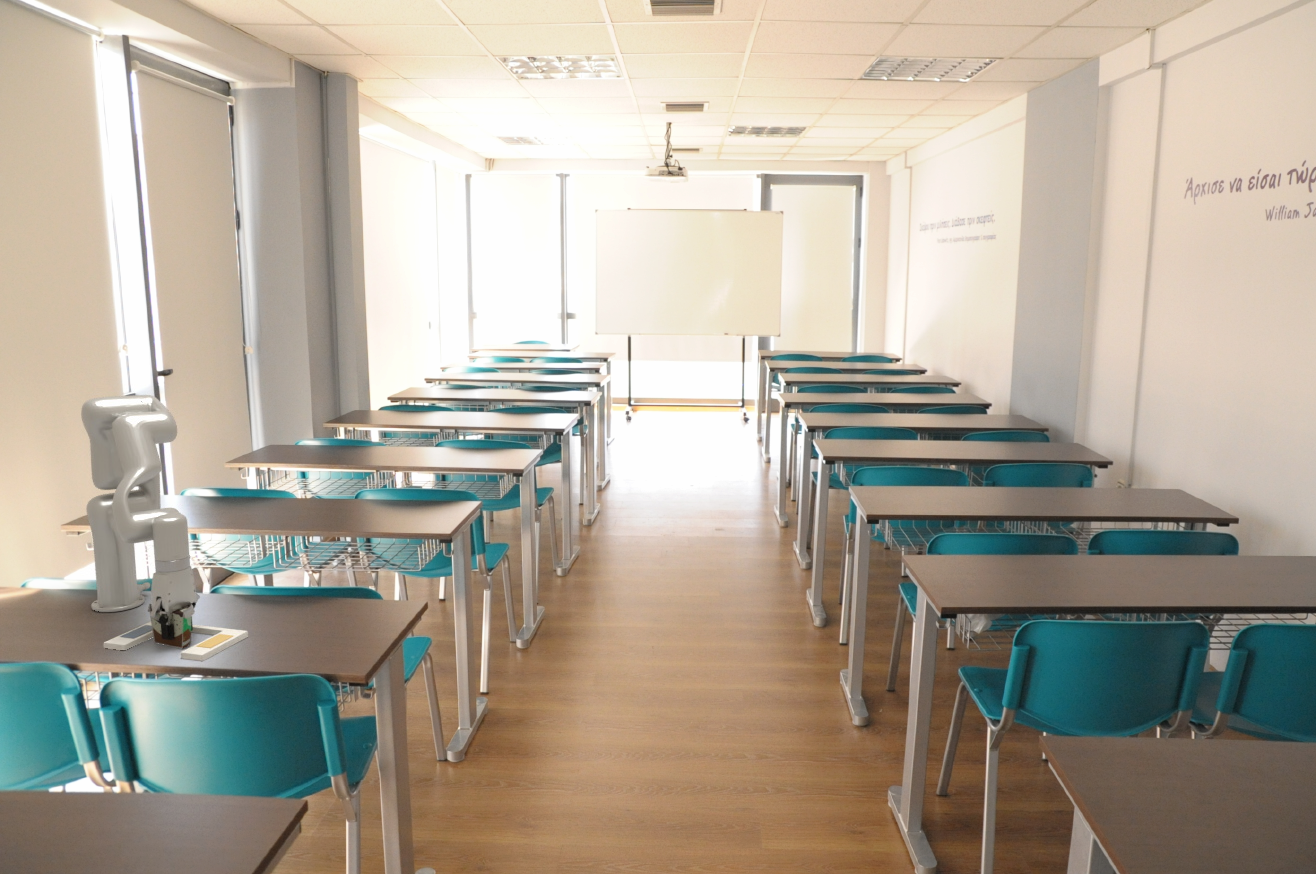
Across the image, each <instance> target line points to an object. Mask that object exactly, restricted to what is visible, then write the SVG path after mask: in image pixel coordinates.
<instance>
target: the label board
mask: <svg viewBox="0 0 1316 874" xmlns="http://www.w3.org/2000/svg"><path fill="white" fill-rule="evenodd" d="M192 626H193V630H192V631H191V634H193V633H195V634H201V635H210V637H208V638H205V639H204V640H202V641H201V642H199V643H196V644H193V645H192V646H190V647H189V648H188V647H187V649H186V648H185V649H183V650H182V651H180V659H183V660H190V661H191V660H192V661H197V662H198V661H199V662H203V661H206V660H208V659H209V658H212V657H214V655H217V654H218V653H221V652H222V651H224V650H226V649H228V648H230V647H232V646H233V645H236V644H237V643H239V642H240V641H241V642H242V641H243V640H244V639H247V638H249V630H243V629H232V628H224V627H218V626H217V627H216V626H208V625H207V626H206V625H201V624H200V625H199V624H193V623H192ZM152 637H153V631H152V624H151V621H149V622H146V623H144V624H142V625H139V626H137V627H136V628H133V629H131V630H129V631H127V632H124V633H122V634H120V635H117V636H115V637H113V638H111V639H109V640H107V641H104V642H103V649H105V648H108V650H113V649H116V651H120V650H126V651H128V650H129V648H130V649H132V648H134V647H136V646H138V645H137V644H139V643H141V642H143V641H145V642H146V641H149V640H151V639H153V638H152ZM150 638H151V639H150ZM148 639H149V640H148ZM143 643H144V642H143ZM141 644H142V643H141ZM135 645H136V646H135ZM139 645H140V644H139ZM133 646H134V647H133ZM131 647H132V648H131ZM127 649H128V650H127Z"/></svg>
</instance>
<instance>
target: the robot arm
mask: <svg viewBox="0 0 1316 874" xmlns="http://www.w3.org/2000/svg"><path fill="white" fill-rule="evenodd" d="M80 415H81V421H82V424H83V427H84V429H85V431H86V433H87V435H88V439H89V444H90V445H89V448H90V450H89V451H90V465H91V467H90V468H91V470H90V471H91V479H92V483H93V485H94V486H95V488H96V489H99V490H101V491H111V490H112V491H113V490H114V492H111V493H110V492H109V493H103V494H100V495H97V496H95V497H92V498H91V499H90V500H89V501H88V502H87V505H86V507H85V508H86V509H85V510H86V515H87V519H88V524H89V527H90V531H91V537H92V544H93V545H92V546H93V557H94V570H95V581H96V592H97V593H96V594H97V599H96V600H94V601H93V602H92V603H90V604H91V610H93V611H94V610H95V612H98V611H99V612H100V613H115V612H121V611H127V610H131V609H134V608H138V607H139V606H141V605H142V604H144V603H145V600H146V599H145V596H144V595H142V594H141V593H142V592H143V591H145V590H148V589H151V592H150V593H151V594H150V595H151V596H150V597H151V598H150V602H151V603H150V604H151V606H152V612H151V614H150V613H149V617H150V619H151V618H153V619H155V620H156V621H157V622H158V623H159V624H161V635H162V639H167V640H173V639H174V638H175V637H174V625H173V624H171V622H172V616H173V612H174V611H176V610H179V609H181V608H183V607H186V606H188V605H189V604H190V602H191V603H192V605H193V607H194V609H195V608H196V606H197V602H199V599H200V595H199V594H198V593H197V592H196V583H195V576H194V572H193V569H192V566H191V560H190V559H191V554H190V543H189V528H188V527H189V526H188V518H187V517H186V516H185V515H184V514H183V513H181V512H179V510H178V509H177V508H174V507H163V508H161V478H160V477H161V475H160V473H161V472H162V470H163V467H162V465H163V464H162V462H161V458H160V455H159V452H158V448H157V444H167V443H171V442H174V441H175V440H176V439H177V436H178V425H177V422H176V420H175V418H174V416H173V414H172V413H171V412H170V410H169V409H168V408H167V407H166V406H165V405H164V404H163V403H162V402H161V401H160V399H159V398H157V397H156V396H153V395H150V394H138V395H121V396H120V395H117V396H116V395H115V396H114V395H113V396H105V397H104V396H101V397H96V398H90V399H88V400H86V401H85V402H84V403H83V404H82V406H81V413H80ZM136 487H138V489H134V488H136ZM150 541H152V542H153V554H154V557H153V558H154V566H155V567H154V569H155V572H154V573H152V579H151V583H150V582H149V581H147V582H143V583H141V584H139V583H138V580H137V566H136V552H135V549H136V548H135V544H139V543H144V542H150ZM165 614H167V619H166V618H165ZM192 624H193V618H192V619H191V631H192V630H193V626H192Z"/></svg>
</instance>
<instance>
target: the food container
mask: <svg viewBox="0 0 1316 874" xmlns="http://www.w3.org/2000/svg"><path fill="white" fill-rule="evenodd" d="M147 612H149V615H150V614H151V612H152V606H151V603H149V604H148V608H147ZM194 614H195V608H194V607H193V605H192V603H191V602H190V604H189V605H188V606H186V607H183V608H181V609H179V610H176V611H174V612H173V616H172V622H171V624H173V625H174V637H175V638H174V639H173V640H167V639H162V635H161V624H159V623H158V622H157V621H156V620H155V619H153V618H151V617H150V622H151V624H152V631H153V638H152V639H153V643H154V644H156V643H159V644H158V645H161V644H164V645H163V646H166V645H167V646H166V647H170V646H171V648H176V649H181V650H185V649H186V648H188V647H189V646H190V645H191V642H192V641H191V639H192V636H191V635H192V632H191V619H192V620H193V615H194ZM165 618H166V619H167V614H165Z"/></svg>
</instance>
